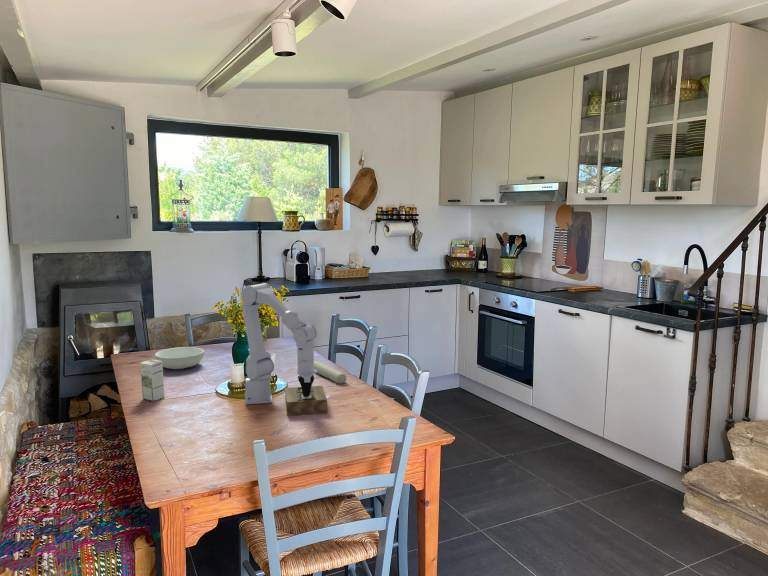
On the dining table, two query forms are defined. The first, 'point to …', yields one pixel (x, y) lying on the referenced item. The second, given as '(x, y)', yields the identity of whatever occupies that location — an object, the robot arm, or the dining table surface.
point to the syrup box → (152, 379)
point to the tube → (329, 372)
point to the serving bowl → (180, 357)
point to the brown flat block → (305, 401)
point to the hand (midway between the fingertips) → (306, 396)
